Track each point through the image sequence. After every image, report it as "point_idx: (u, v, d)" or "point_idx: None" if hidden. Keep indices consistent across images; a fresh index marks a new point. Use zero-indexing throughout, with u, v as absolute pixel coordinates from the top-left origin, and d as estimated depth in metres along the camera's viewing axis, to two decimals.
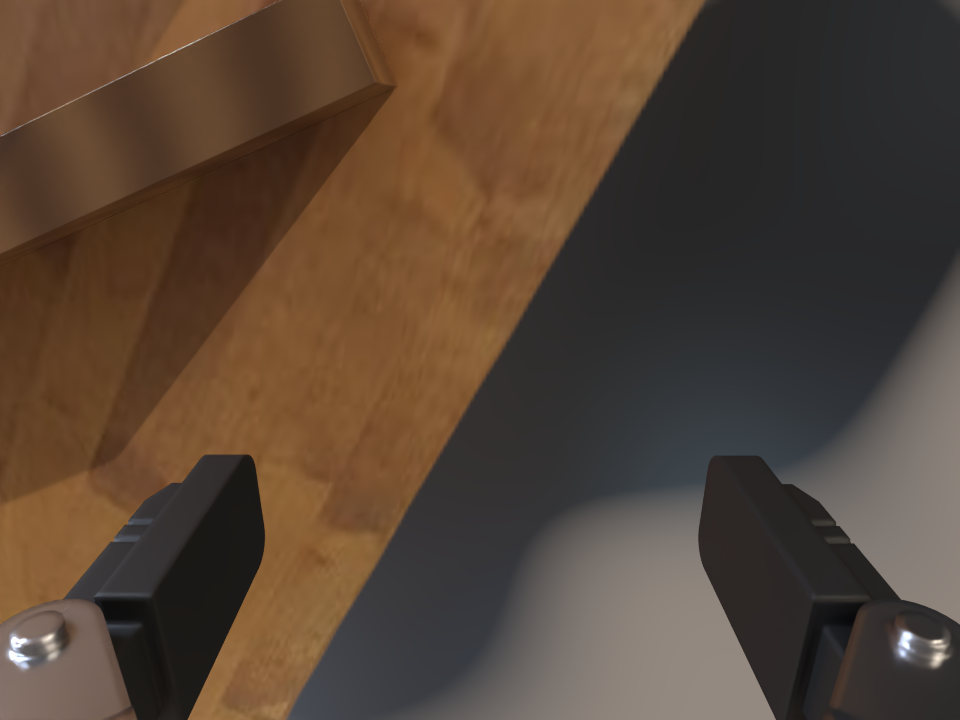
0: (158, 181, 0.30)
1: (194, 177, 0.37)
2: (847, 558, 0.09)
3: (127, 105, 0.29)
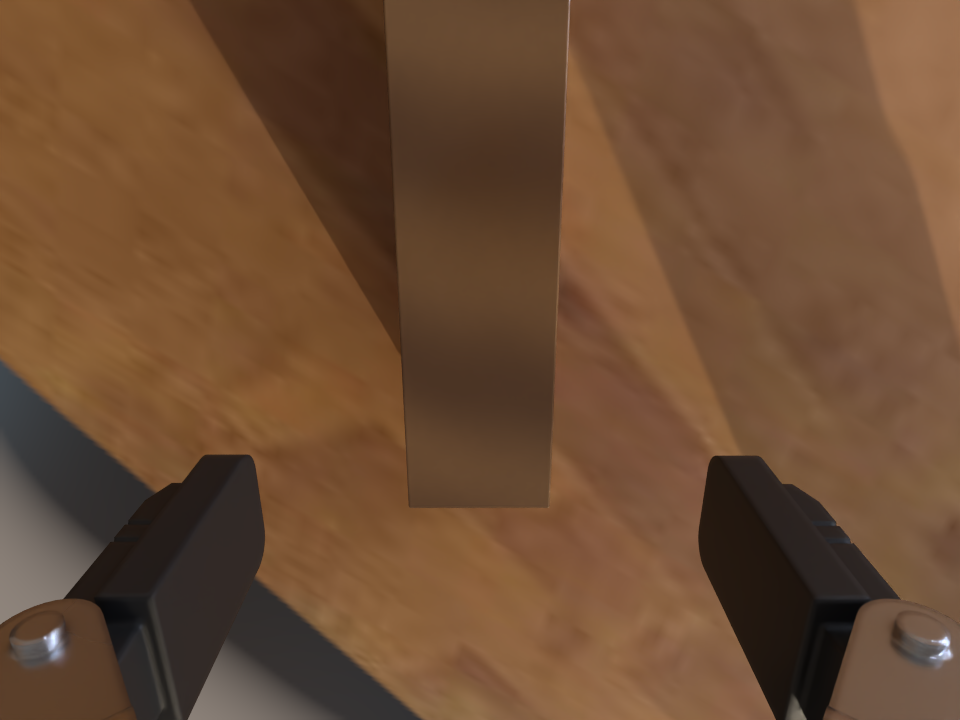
0: (391, 135, 0.17)
1: None
2: (847, 558, 0.09)
3: (521, 157, 0.17)
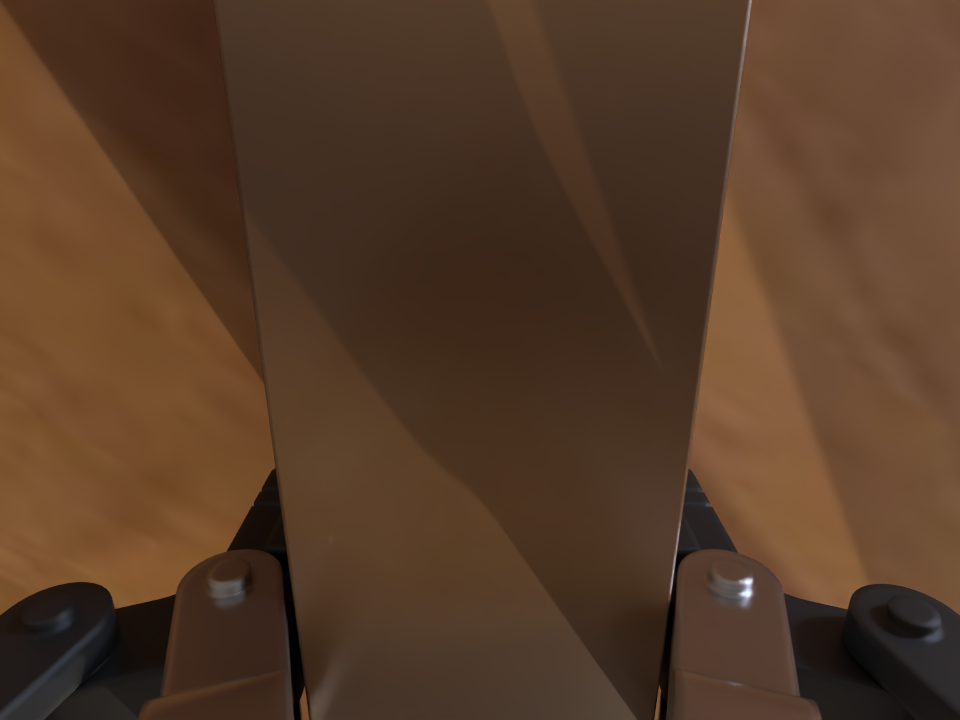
0: (239, 173, 0.06)
1: None
2: (701, 519, 0.10)
3: (603, 234, 0.06)
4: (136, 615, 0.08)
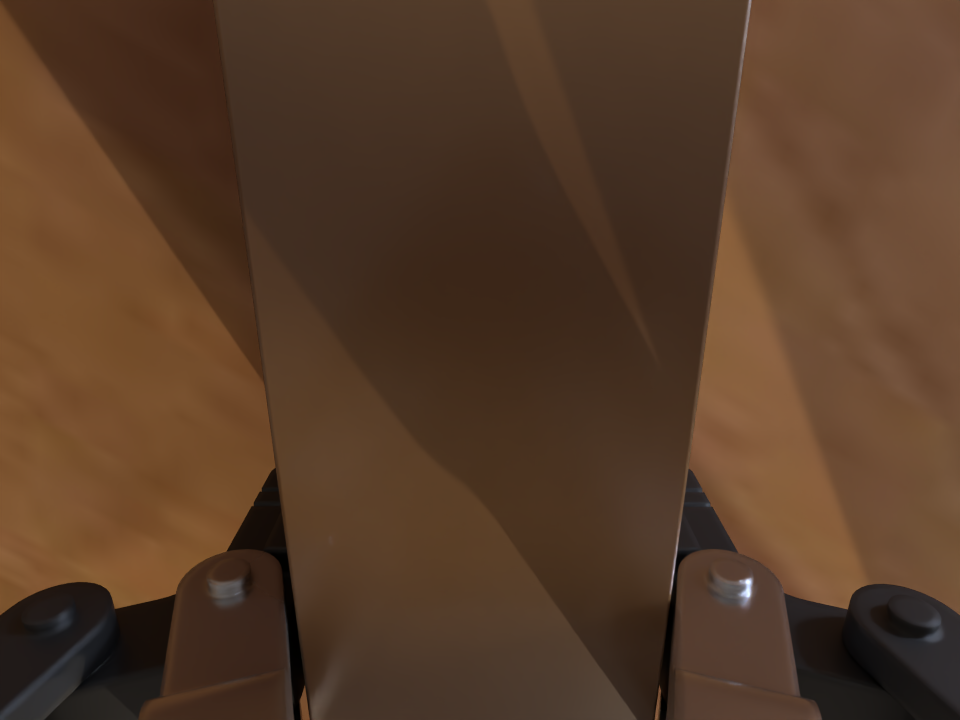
0: (239, 173, 0.06)
1: None
2: (701, 519, 0.10)
3: (603, 233, 0.06)
4: (136, 615, 0.08)
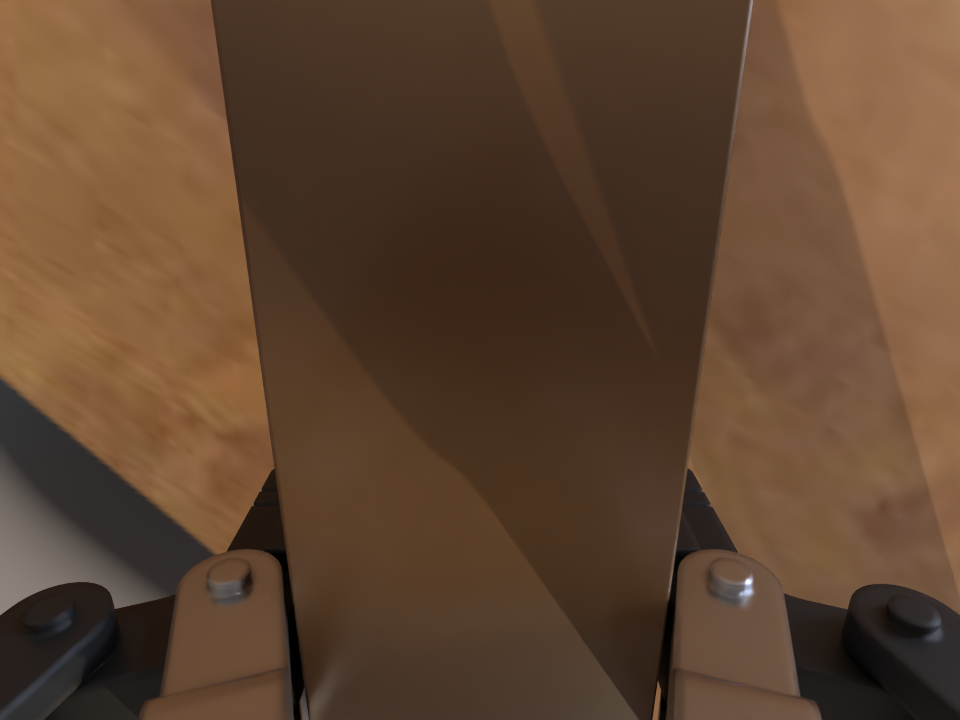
0: (238, 175, 0.06)
1: None
2: (701, 519, 0.10)
3: (603, 236, 0.06)
4: (136, 615, 0.08)
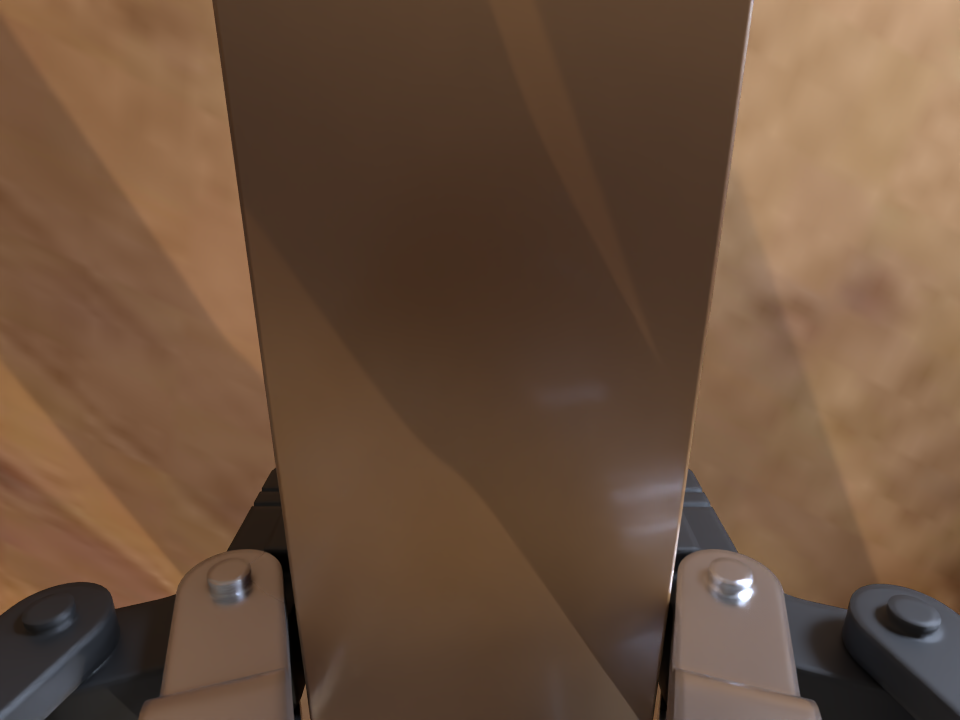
0: (239, 170, 0.06)
1: None
2: (701, 519, 0.10)
3: (604, 232, 0.06)
4: (136, 615, 0.08)
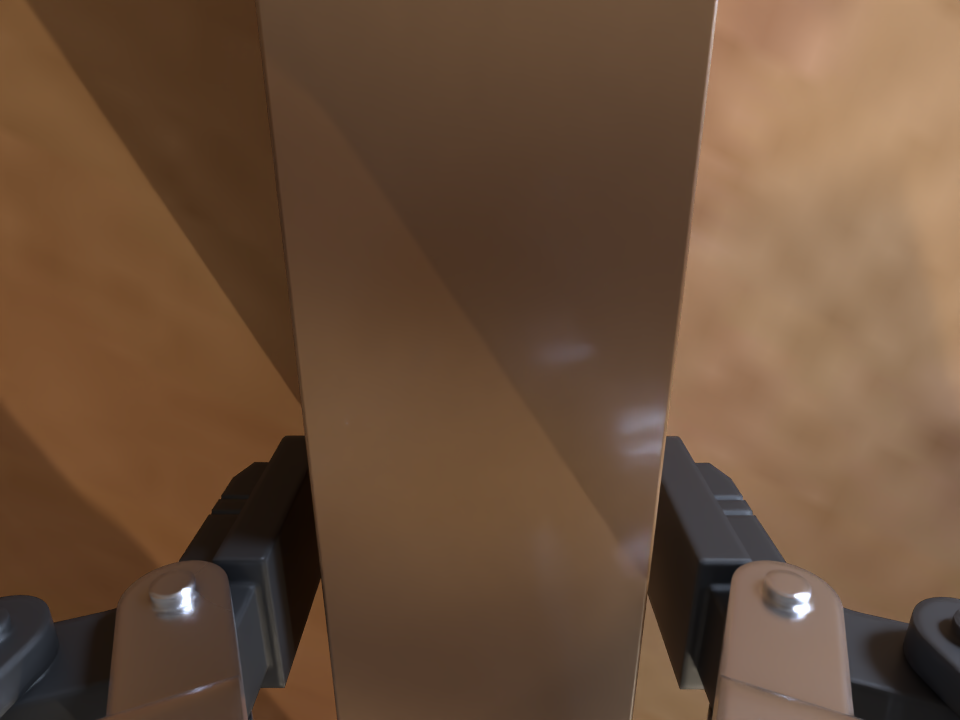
0: (279, 185, 0.07)
1: None
2: (745, 528, 0.10)
3: (590, 237, 0.07)
4: (78, 628, 0.08)
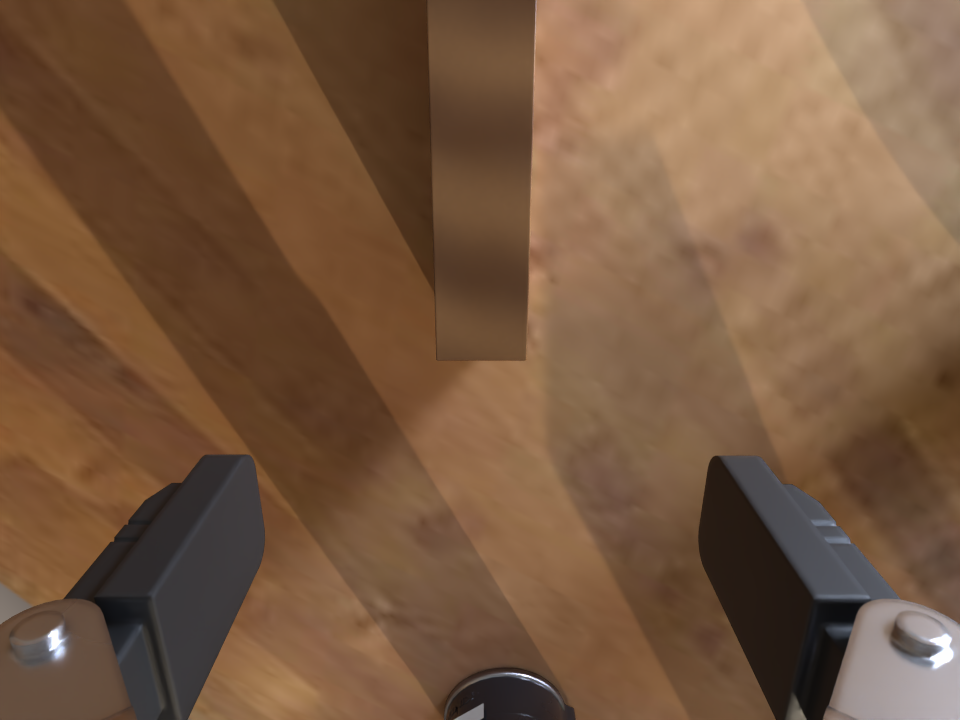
0: (430, 119, 0.28)
1: None
2: (847, 558, 0.09)
3: (507, 133, 0.28)
4: None
